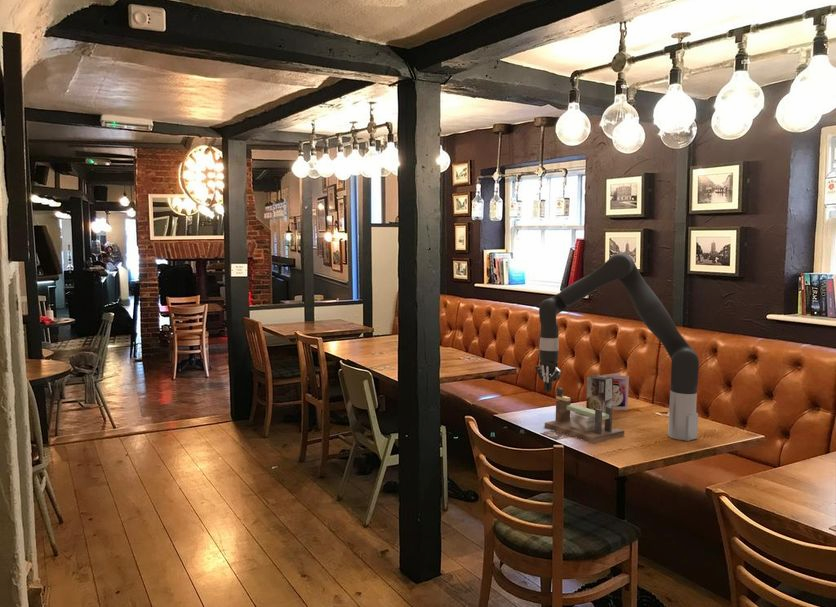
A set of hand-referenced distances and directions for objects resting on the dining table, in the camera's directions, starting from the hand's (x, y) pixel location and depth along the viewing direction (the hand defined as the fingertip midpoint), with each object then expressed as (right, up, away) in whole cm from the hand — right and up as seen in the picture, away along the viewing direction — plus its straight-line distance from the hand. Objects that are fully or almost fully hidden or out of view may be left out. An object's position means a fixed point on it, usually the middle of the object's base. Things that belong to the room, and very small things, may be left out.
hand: (547, 391), depth 266 cm
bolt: (+5, -2, -6) cm, 8 cm away
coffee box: (+24, -12, +11) cm, 28 cm away
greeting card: (+33, -11, +22) cm, 41 cm away
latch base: (+11, -14, -14) cm, 22 cm away
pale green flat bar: (+12, -6, -16) cm, 21 cm away
